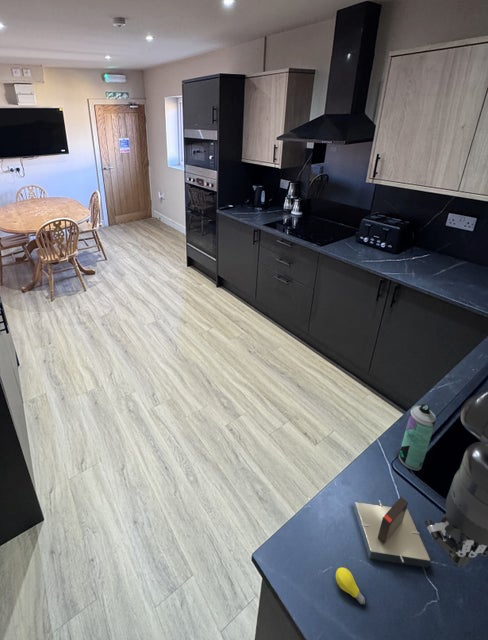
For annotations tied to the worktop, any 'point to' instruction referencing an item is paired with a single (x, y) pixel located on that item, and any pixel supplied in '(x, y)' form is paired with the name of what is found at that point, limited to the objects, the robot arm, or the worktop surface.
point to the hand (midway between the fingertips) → (456, 559)
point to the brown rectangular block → (392, 519)
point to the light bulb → (348, 584)
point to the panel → (399, 546)
